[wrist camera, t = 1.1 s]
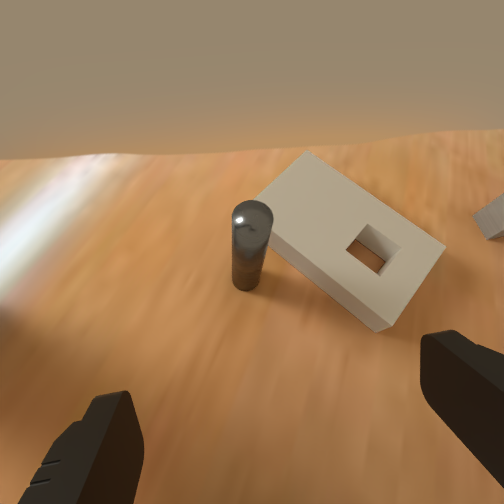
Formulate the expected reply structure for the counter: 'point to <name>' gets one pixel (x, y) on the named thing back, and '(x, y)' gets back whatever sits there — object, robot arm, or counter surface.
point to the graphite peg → (249, 242)
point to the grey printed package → (491, 218)
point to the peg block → (347, 240)
